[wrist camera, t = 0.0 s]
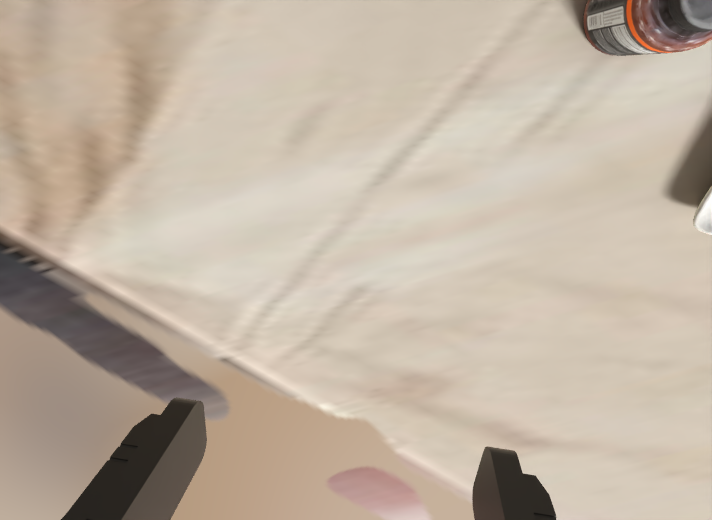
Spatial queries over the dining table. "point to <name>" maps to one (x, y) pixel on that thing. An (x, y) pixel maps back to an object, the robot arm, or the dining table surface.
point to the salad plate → (704, 214)
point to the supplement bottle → (647, 25)
